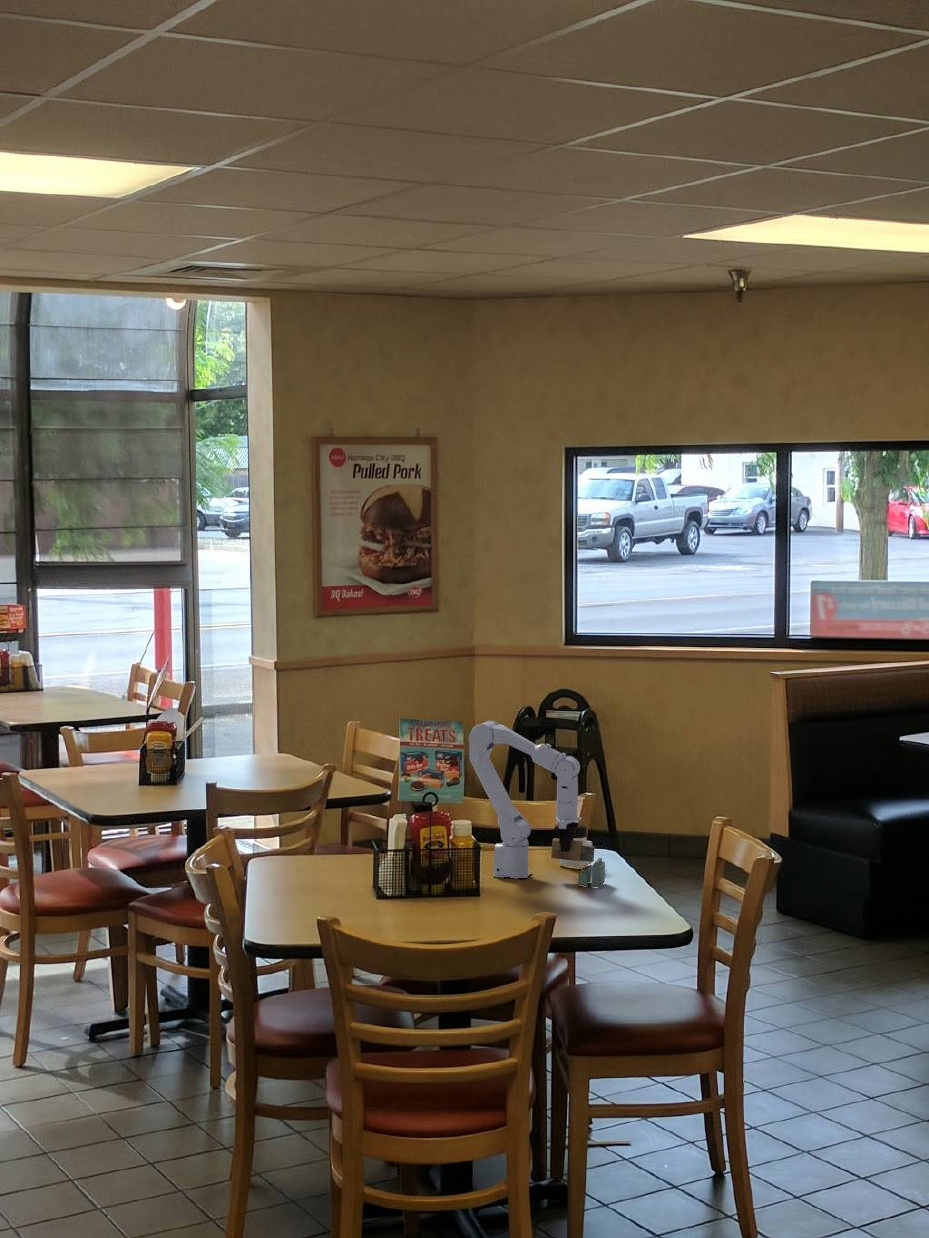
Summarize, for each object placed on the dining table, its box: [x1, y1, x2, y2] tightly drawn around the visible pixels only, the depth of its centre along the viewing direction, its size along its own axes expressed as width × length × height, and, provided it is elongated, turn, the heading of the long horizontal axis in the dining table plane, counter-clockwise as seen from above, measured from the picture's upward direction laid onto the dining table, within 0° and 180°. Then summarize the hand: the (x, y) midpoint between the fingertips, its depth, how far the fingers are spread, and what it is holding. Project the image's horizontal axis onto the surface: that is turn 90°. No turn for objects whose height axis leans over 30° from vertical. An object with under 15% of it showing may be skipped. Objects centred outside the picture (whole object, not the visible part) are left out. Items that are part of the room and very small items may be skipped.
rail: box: [551, 837, 596, 863], centre depth 401 cm, size 12×3×5 cm, turn 76°
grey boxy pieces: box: [578, 857, 606, 889], centre depth 396 cm, size 6×7×7 cm
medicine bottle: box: [558, 824, 593, 867], centre depth 420 cm, size 7×7×12 cm
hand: (566, 850), depth 402 cm, fingers closed on rail, 3 cm apart
